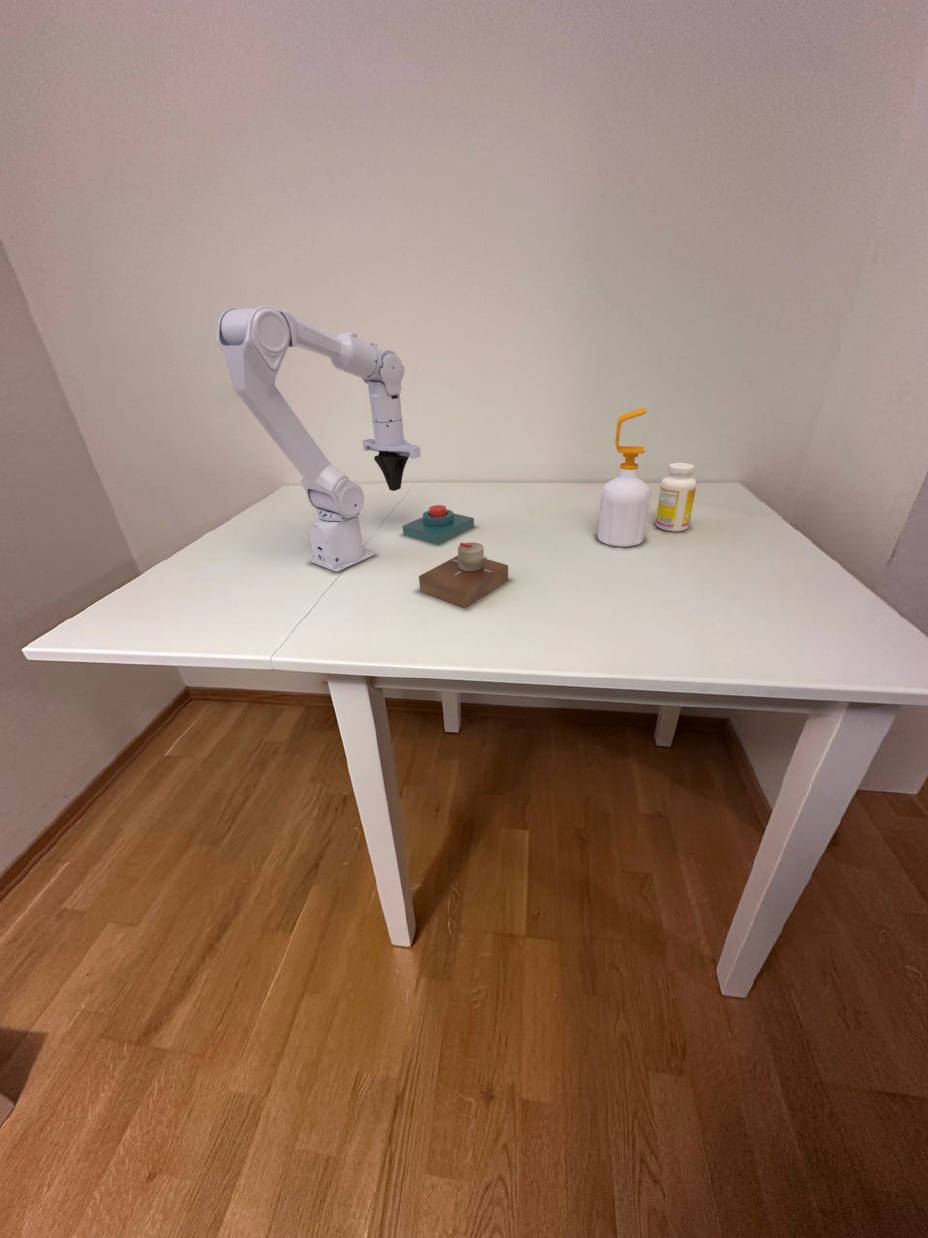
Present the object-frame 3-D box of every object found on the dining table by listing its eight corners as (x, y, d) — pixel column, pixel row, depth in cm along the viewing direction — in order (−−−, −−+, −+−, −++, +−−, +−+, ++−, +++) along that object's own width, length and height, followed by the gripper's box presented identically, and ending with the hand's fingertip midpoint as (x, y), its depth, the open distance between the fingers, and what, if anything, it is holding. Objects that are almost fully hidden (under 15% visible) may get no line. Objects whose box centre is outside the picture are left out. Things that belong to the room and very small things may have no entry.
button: (438, 519, 107) (438, 511, 106) (426, 516, 109) (425, 508, 108) (449, 514, 110) (449, 506, 109) (437, 511, 112) (436, 503, 111)
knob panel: (465, 608, 82) (464, 591, 80) (420, 591, 87) (418, 575, 86) (509, 579, 90) (509, 563, 88) (465, 566, 95) (464, 550, 94)
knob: (489, 564, 88) (488, 544, 86) (473, 573, 86) (472, 552, 84) (469, 558, 91) (468, 538, 89) (453, 567, 88) (452, 547, 86)
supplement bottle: (683, 521, 110) (695, 460, 104) (692, 532, 105) (704, 469, 98) (651, 521, 111) (660, 461, 104) (658, 532, 105) (668, 470, 99)
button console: (438, 545, 105) (436, 526, 102) (403, 535, 110) (401, 517, 108) (474, 527, 112) (473, 509, 110) (440, 518, 118) (439, 502, 116)
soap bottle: (645, 548, 99) (666, 413, 86) (597, 546, 100) (610, 414, 88) (641, 531, 106) (660, 405, 94) (596, 530, 108) (608, 405, 95)
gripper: (428, 419, 97) (434, 489, 104) (377, 413, 105) (385, 479, 112) (402, 425, 93) (409, 499, 100) (350, 419, 101) (360, 487, 108)
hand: (395, 489), depth 106 cm, fingers closed
